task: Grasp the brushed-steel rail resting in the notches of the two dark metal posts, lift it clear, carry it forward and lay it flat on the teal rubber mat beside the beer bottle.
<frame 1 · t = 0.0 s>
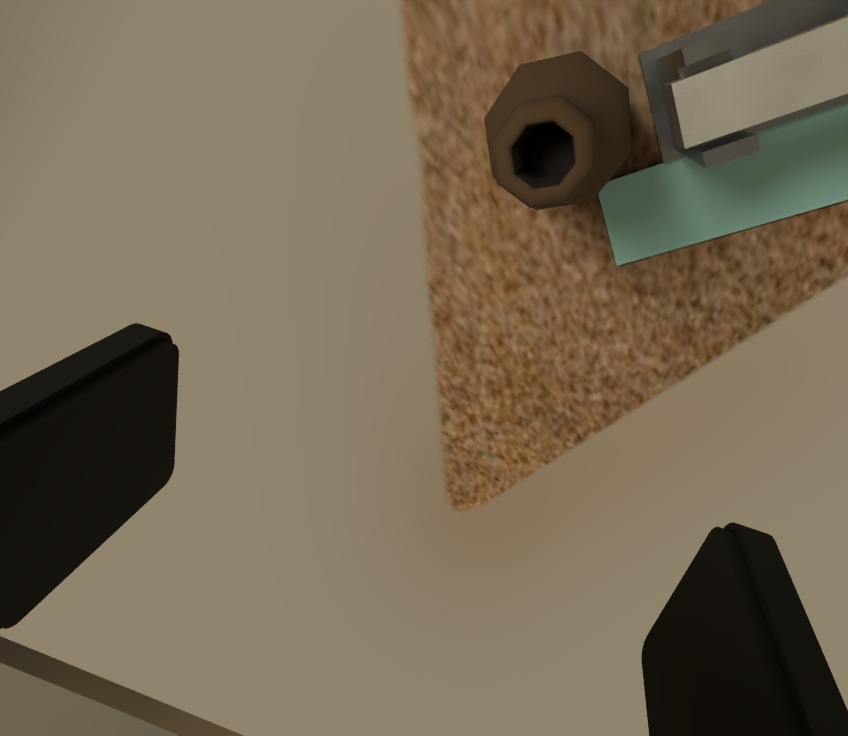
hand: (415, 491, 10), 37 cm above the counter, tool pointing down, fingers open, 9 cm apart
mat: (742, 183, 40), on the counter
beer bottle: (564, 123, 41), on the counter
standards: (795, 56, 36), on the counter
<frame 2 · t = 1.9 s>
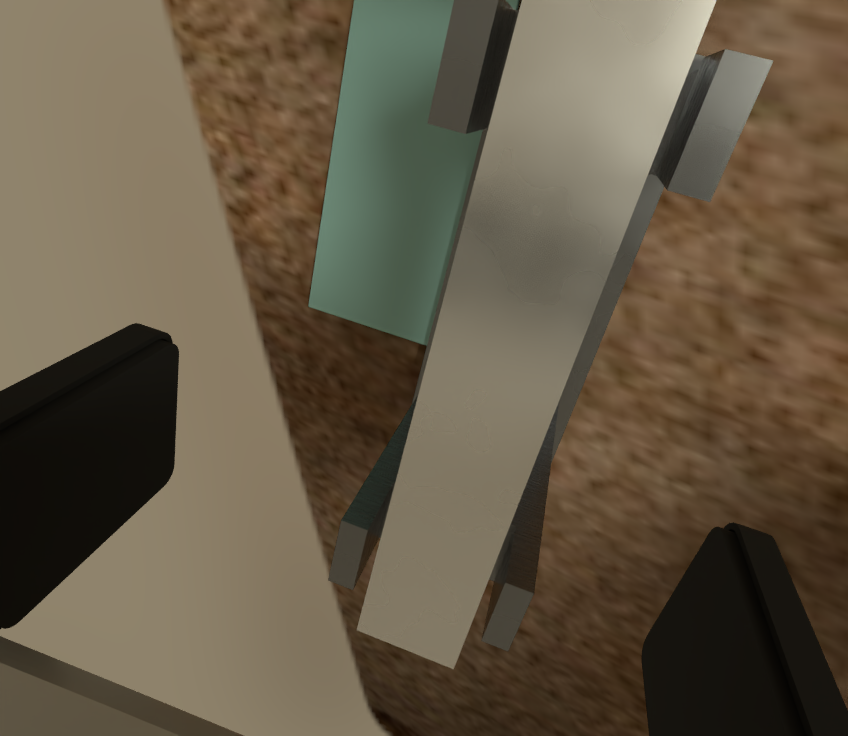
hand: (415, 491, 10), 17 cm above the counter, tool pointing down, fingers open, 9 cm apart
mat: (411, 122, 24), on the counter
rail: (503, 354, 16), point 10 cm above the counter, touching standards
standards: (537, 263, 25), on the counter
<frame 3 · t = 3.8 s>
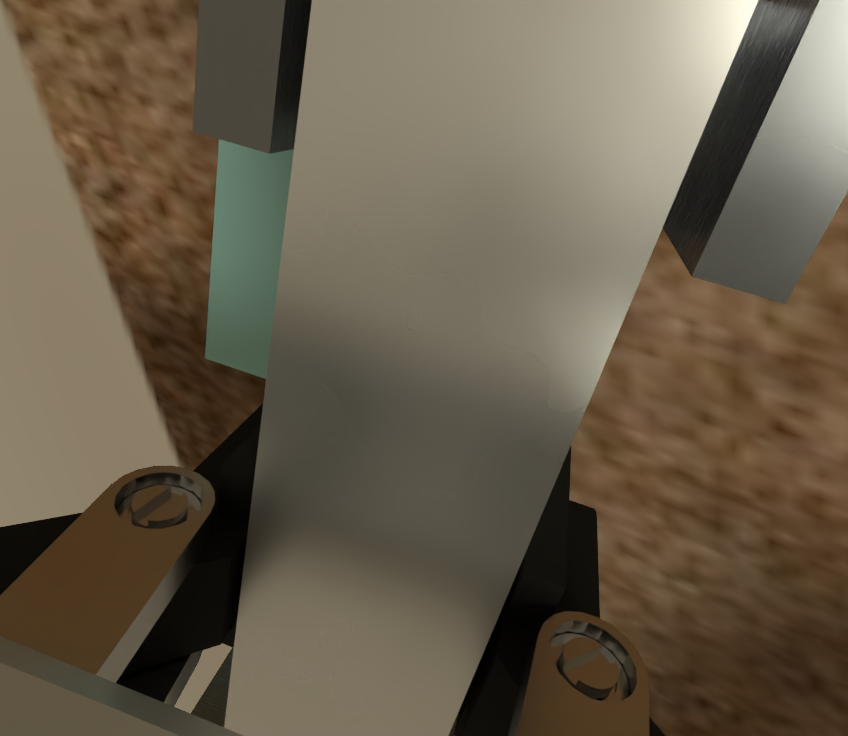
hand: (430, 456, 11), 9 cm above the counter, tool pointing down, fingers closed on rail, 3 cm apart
mat: (320, 120, 18), on the counter
rail: (412, 498, 10), point 10 cm above the counter, touching gripper, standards
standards: (493, 307, 19), on the counter
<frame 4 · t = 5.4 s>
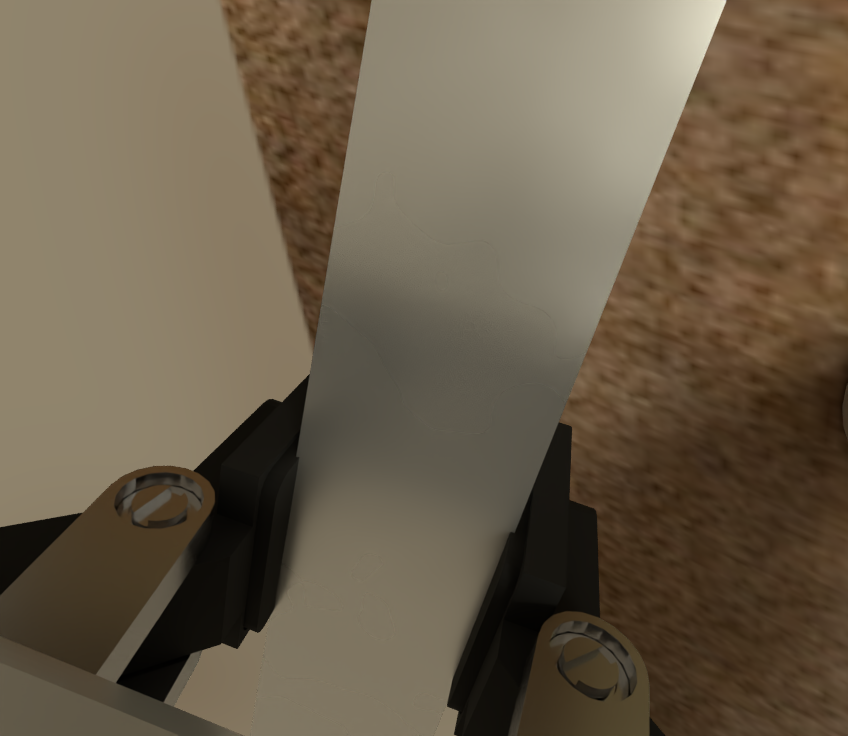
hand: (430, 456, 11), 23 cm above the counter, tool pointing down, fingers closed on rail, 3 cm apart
rail: (428, 461, 11), point 23 cm above the counter, touching gripper
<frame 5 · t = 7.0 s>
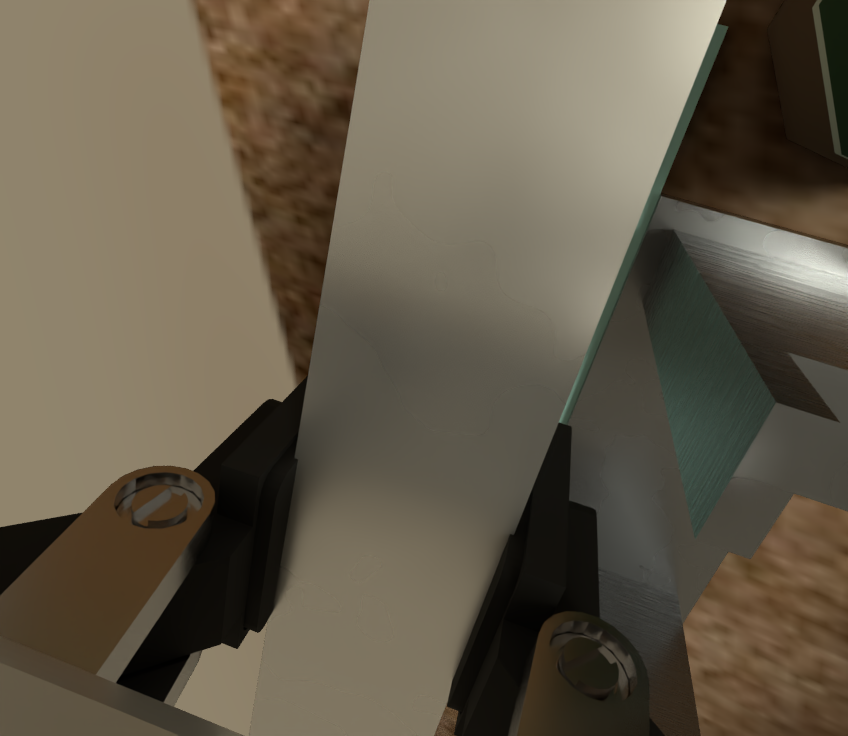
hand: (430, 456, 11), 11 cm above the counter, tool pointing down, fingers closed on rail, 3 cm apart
mat: (521, 297, 21), on the counter
rail: (428, 462, 11), point 11 cm above the counter, touching gripper
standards: (659, 451, 22), on the counter
when the fingers open (1 cm above the counter, at t = 9.1 s): rail stays where it is, resting on mat.
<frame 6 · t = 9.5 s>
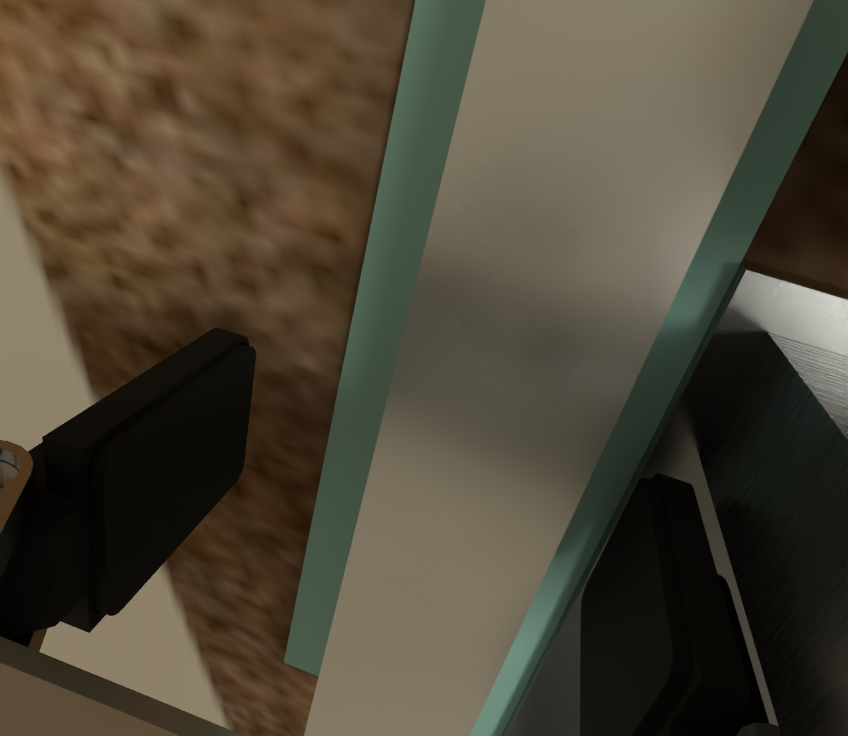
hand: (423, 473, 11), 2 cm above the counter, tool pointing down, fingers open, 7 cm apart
mat: (482, 422, 12), on the counter
rail: (484, 437, 12), resting on mat
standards: (712, 667, 13), on the counter
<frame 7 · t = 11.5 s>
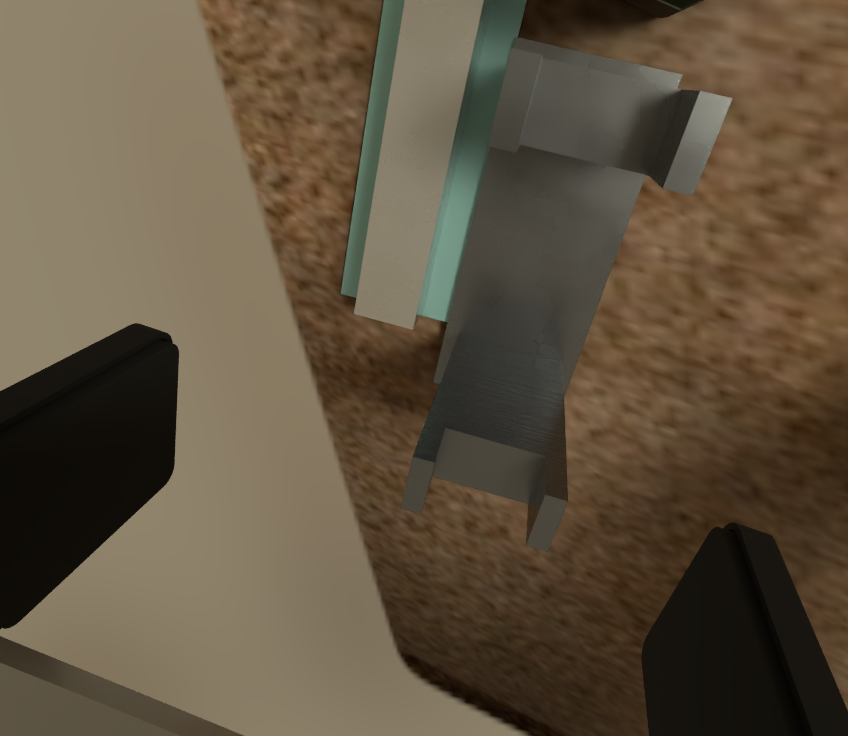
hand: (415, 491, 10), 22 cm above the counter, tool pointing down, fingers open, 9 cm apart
mat: (429, 131, 28), on the counter
rail: (430, 134, 28), resting on mat
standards: (539, 246, 29), on the counter
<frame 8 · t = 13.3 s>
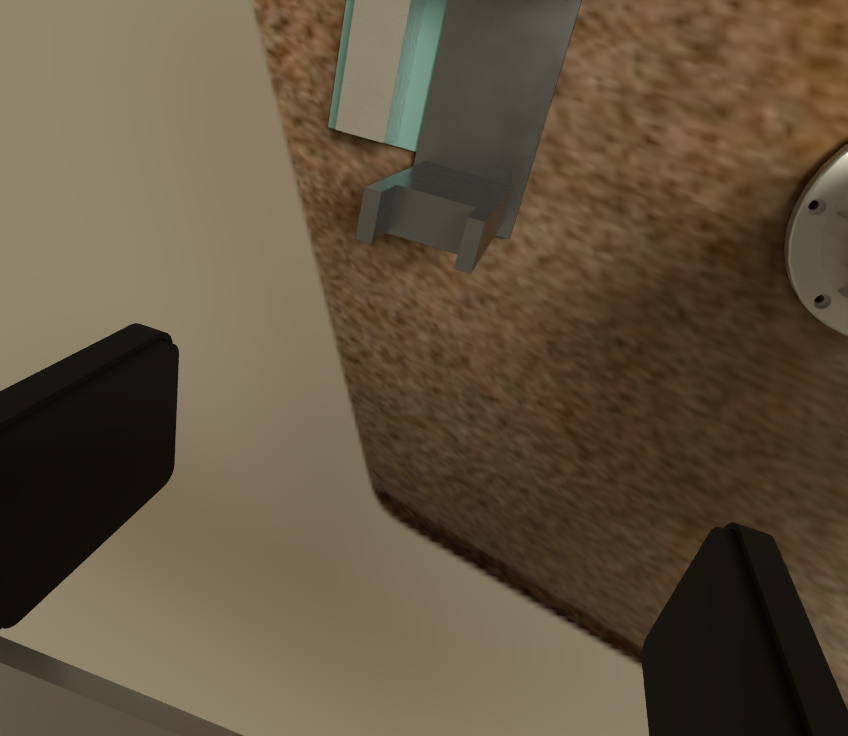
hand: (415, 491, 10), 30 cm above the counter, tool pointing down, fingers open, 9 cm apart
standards: (495, 79, 35), on the counter
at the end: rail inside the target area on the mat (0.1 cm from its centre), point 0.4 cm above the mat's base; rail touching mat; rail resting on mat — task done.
